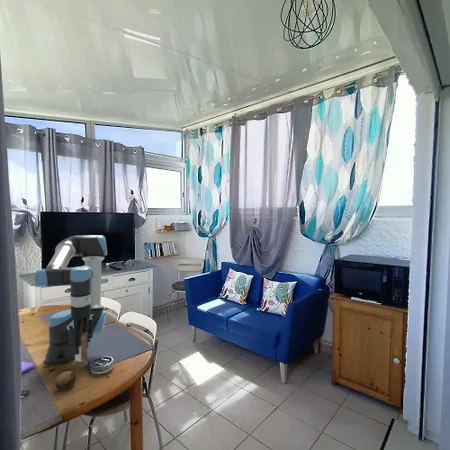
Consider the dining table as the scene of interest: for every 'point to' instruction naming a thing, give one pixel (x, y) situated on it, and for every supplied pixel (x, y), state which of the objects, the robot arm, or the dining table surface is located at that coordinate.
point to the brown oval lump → (65, 380)
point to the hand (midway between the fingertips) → (81, 358)
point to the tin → (101, 365)
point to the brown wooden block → (83, 349)
